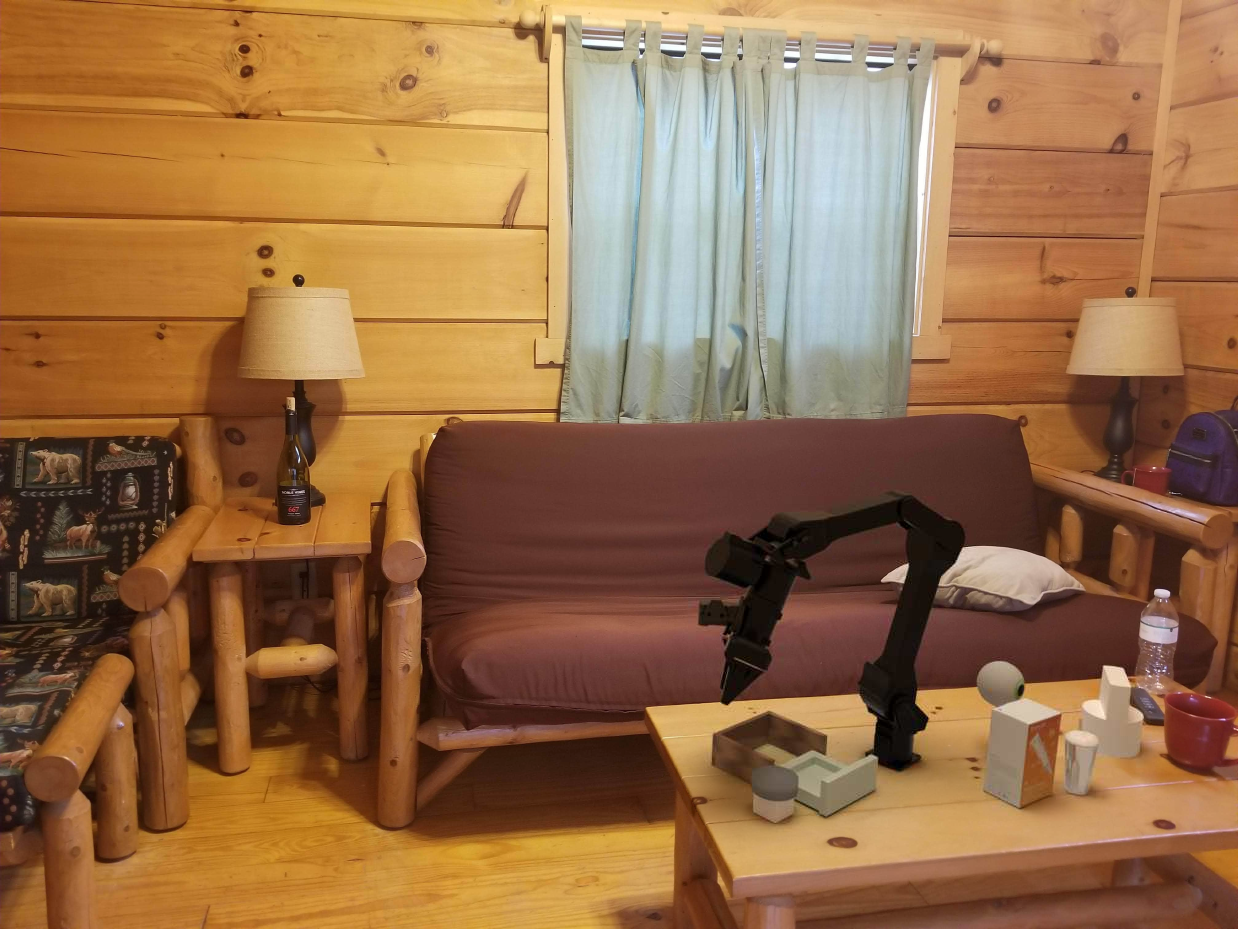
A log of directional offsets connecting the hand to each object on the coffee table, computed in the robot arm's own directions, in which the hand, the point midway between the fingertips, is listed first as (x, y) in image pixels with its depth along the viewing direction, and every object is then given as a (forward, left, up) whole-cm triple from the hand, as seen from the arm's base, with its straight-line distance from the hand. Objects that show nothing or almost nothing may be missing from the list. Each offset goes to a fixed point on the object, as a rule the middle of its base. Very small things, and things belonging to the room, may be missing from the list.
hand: (723, 696), depth 143 cm
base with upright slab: (-60, +31, -14) cm, 69 cm away
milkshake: (-41, +34, -14) cm, 55 cm away
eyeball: (-43, +20, -14) cm, 50 cm away
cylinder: (-1, +9, -11) cm, 14 cm away
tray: (-11, +9, -14) cm, 20 cm away
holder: (-11, 0, -14) cm, 18 cm away
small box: (-33, +29, -14) cm, 46 cm away
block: (-1, +9, -14) cm, 17 cm away
